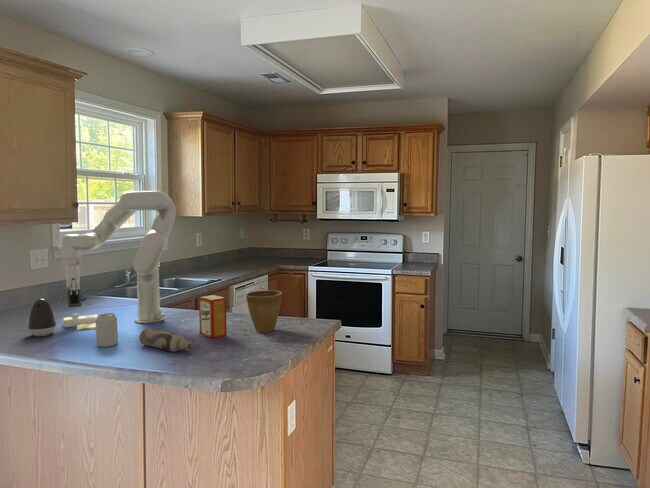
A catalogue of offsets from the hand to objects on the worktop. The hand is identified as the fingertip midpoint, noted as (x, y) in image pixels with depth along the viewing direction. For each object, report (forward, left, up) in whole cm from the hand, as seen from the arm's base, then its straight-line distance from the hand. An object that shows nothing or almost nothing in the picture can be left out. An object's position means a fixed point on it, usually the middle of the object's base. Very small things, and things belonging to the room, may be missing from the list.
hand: (74, 302), depth 221 cm
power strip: (-3, -3, -10) cm, 11 cm away
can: (-41, +18, -10) cm, 45 cm away
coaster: (-10, +2, -10) cm, 14 cm away
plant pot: (-84, -25, -10) cm, 88 cm away
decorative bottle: (-65, +13, -11) cm, 67 cm away
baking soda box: (-69, -10, -10) cm, 70 cm away
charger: (0, 0, -2) cm, 2 cm away
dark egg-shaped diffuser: (-3, +18, -10) cm, 21 cm away
